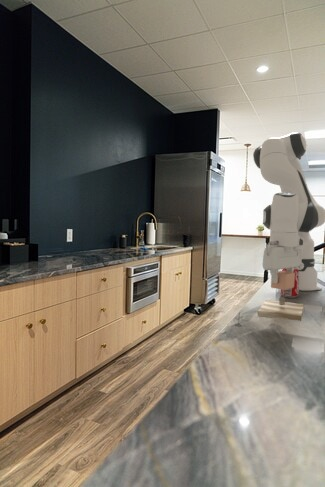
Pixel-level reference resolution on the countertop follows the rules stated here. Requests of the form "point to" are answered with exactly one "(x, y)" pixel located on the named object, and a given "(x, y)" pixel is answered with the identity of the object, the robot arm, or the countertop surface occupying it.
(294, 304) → the pin plate
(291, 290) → the soda can
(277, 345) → the countertop surface
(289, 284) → the block
